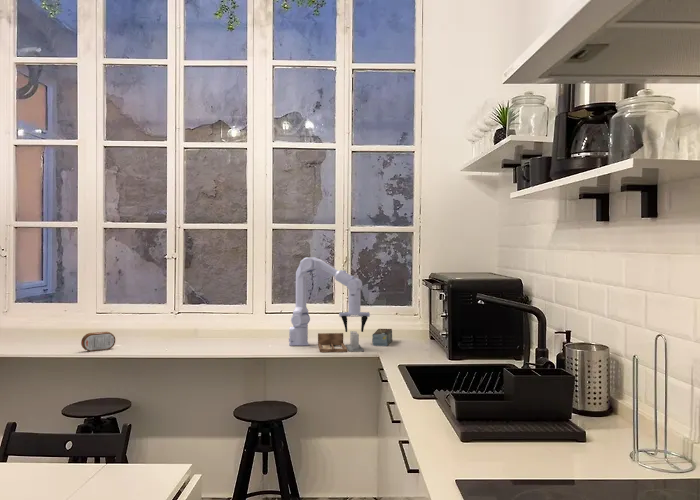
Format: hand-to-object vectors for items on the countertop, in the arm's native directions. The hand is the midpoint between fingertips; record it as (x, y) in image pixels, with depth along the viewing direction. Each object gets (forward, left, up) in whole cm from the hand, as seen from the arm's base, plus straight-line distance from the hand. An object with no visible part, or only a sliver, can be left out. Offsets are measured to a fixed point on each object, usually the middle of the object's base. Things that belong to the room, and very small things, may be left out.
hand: (354, 331), depth 287 cm
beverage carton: (+16, +15, -9) cm, 24 cm away
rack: (-11, 0, -8) cm, 14 cm away
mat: (0, 0, -8) cm, 8 cm away
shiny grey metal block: (0, 0, -8) cm, 8 cm away
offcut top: (-13, 0, -8) cm, 15 cm away
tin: (-119, +4, -8) cm, 120 cm away
